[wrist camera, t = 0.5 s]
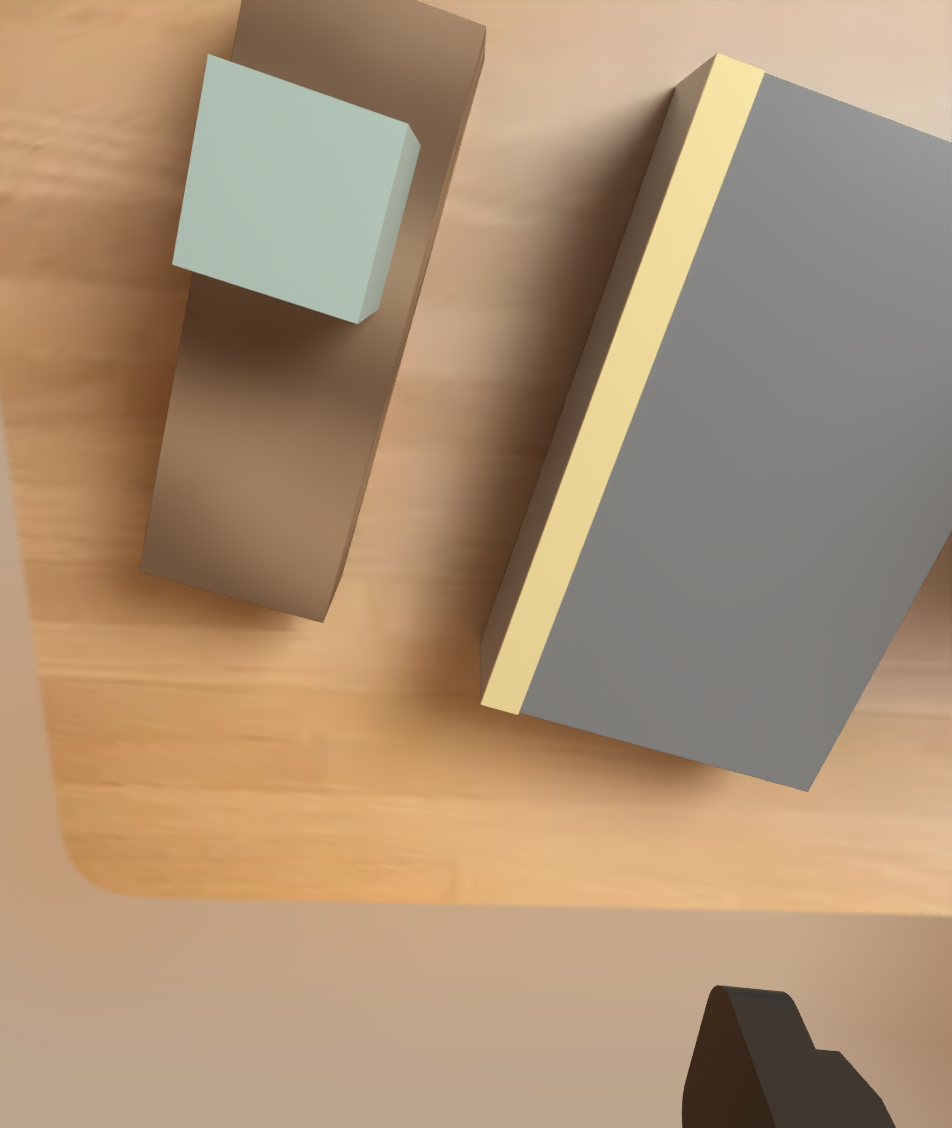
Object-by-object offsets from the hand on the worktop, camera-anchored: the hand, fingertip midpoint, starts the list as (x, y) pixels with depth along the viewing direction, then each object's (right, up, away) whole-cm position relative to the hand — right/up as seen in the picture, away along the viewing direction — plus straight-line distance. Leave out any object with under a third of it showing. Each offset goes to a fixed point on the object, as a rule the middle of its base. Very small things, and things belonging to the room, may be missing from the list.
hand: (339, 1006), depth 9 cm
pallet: (-3, +12, +16) cm, 21 cm away
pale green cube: (-2, +14, +12) cm, 18 cm away
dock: (+10, +8, +18) cm, 22 cm away
